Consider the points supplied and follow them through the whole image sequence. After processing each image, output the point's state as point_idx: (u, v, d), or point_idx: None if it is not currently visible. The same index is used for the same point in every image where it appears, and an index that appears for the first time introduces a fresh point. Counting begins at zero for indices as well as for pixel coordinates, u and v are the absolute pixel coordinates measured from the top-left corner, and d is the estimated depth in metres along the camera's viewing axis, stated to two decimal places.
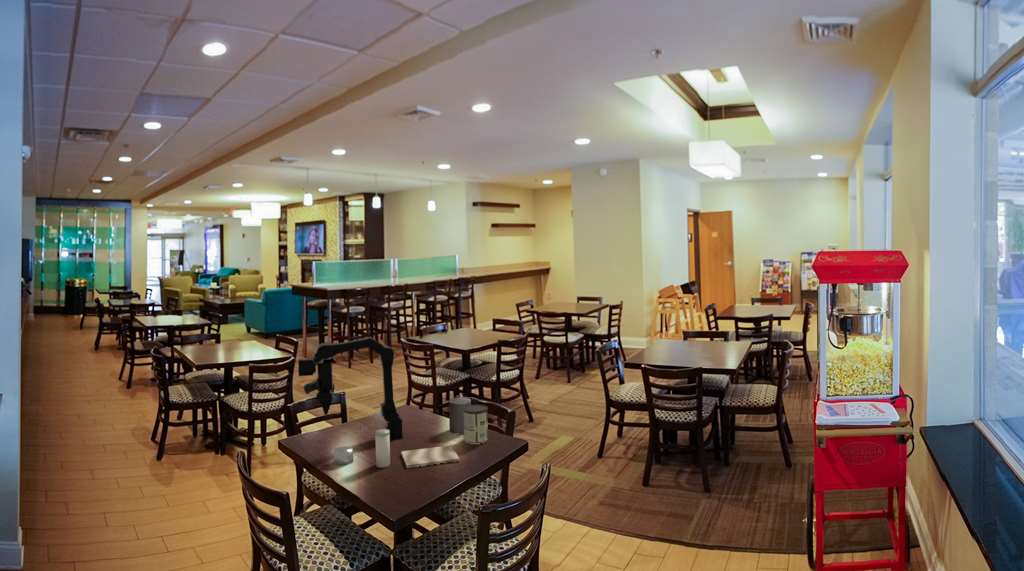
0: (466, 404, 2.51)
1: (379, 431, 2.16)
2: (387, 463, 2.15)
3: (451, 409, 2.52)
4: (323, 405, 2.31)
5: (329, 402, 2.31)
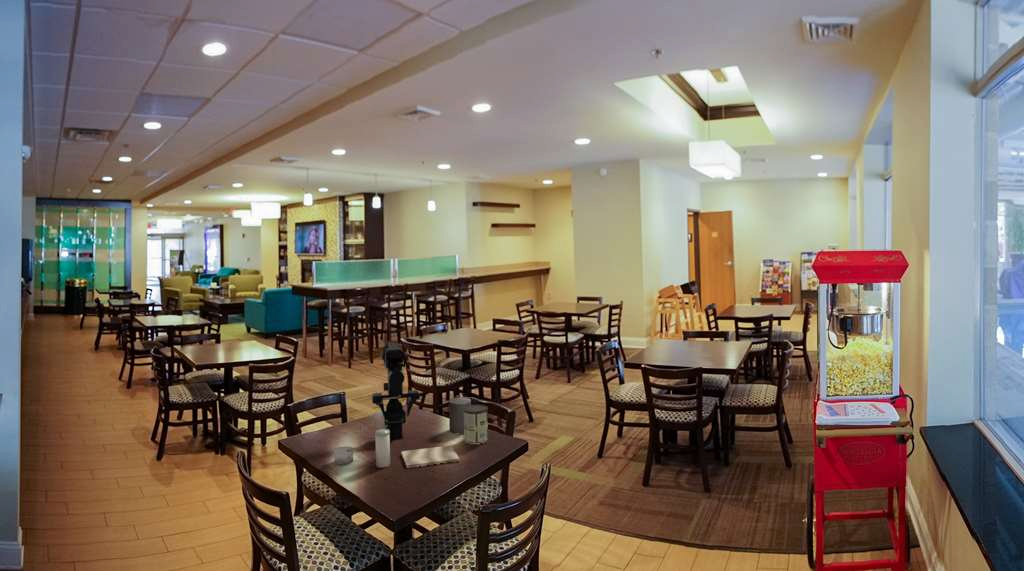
0: (466, 404, 2.51)
1: (379, 431, 2.16)
2: (387, 463, 2.15)
3: (451, 409, 2.52)
4: None
5: (380, 407, 2.29)
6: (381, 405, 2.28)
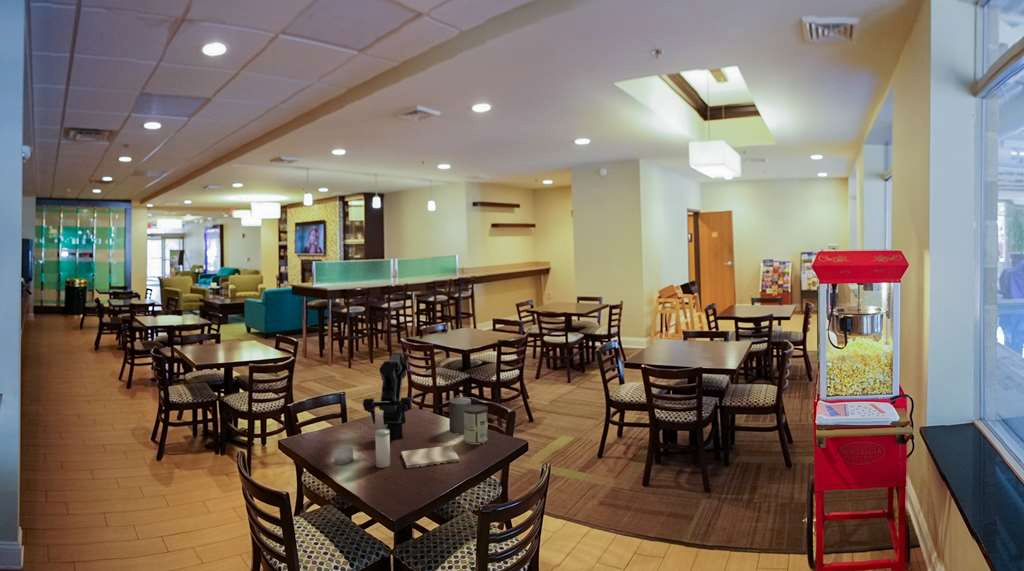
0: (466, 404, 2.51)
1: (379, 431, 2.16)
2: (387, 463, 2.15)
3: (451, 409, 2.52)
4: None
5: None
6: (371, 406, 2.25)
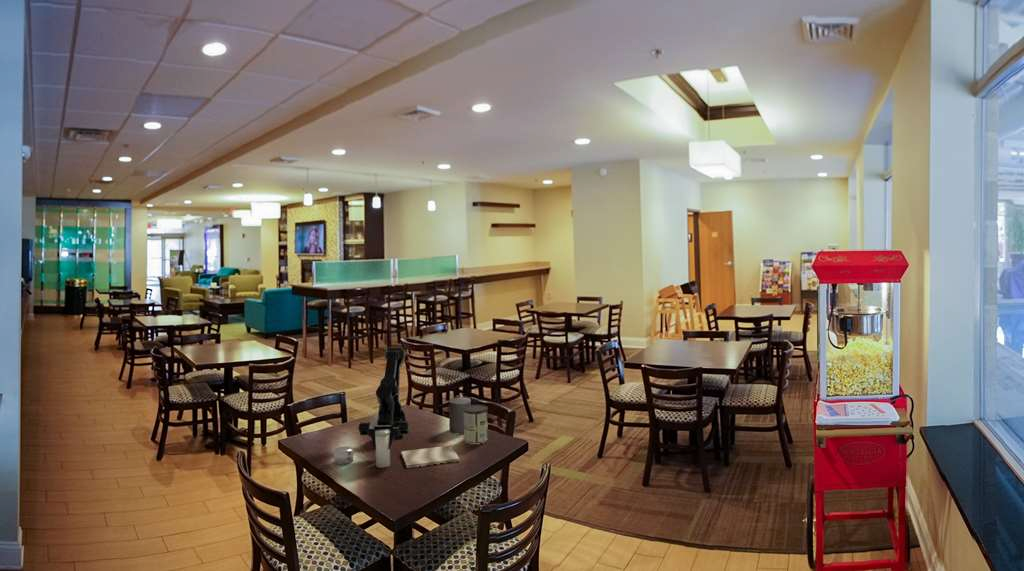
0: (466, 404, 2.51)
1: (379, 431, 2.16)
2: (387, 463, 2.15)
3: (451, 409, 2.52)
4: None
5: None
6: (371, 430, 2.17)
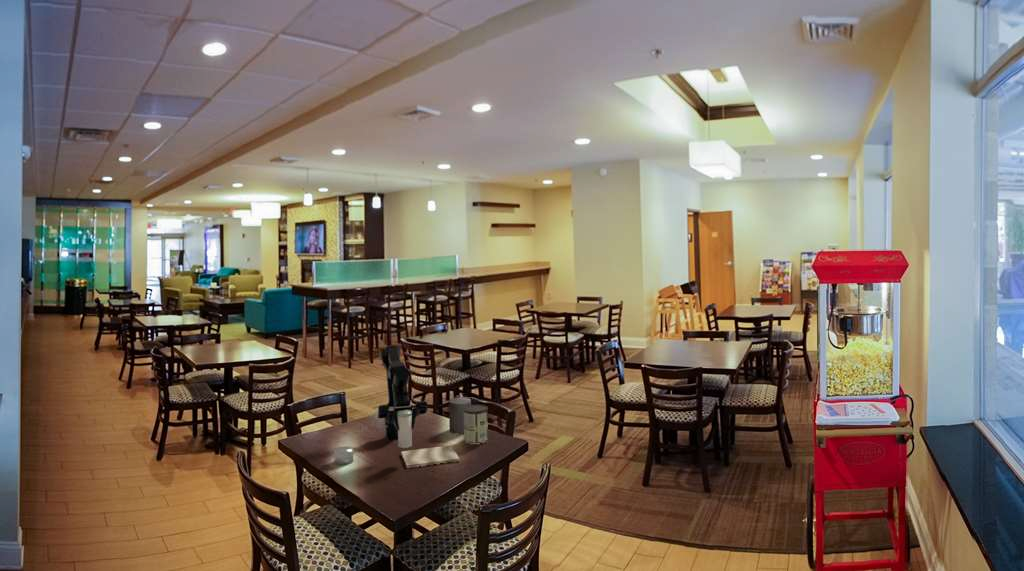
0: (466, 404, 2.51)
1: (401, 412, 2.17)
2: (410, 443, 2.17)
3: (451, 409, 2.52)
4: (393, 421, 2.18)
5: (392, 416, 2.17)
6: (393, 412, 2.17)
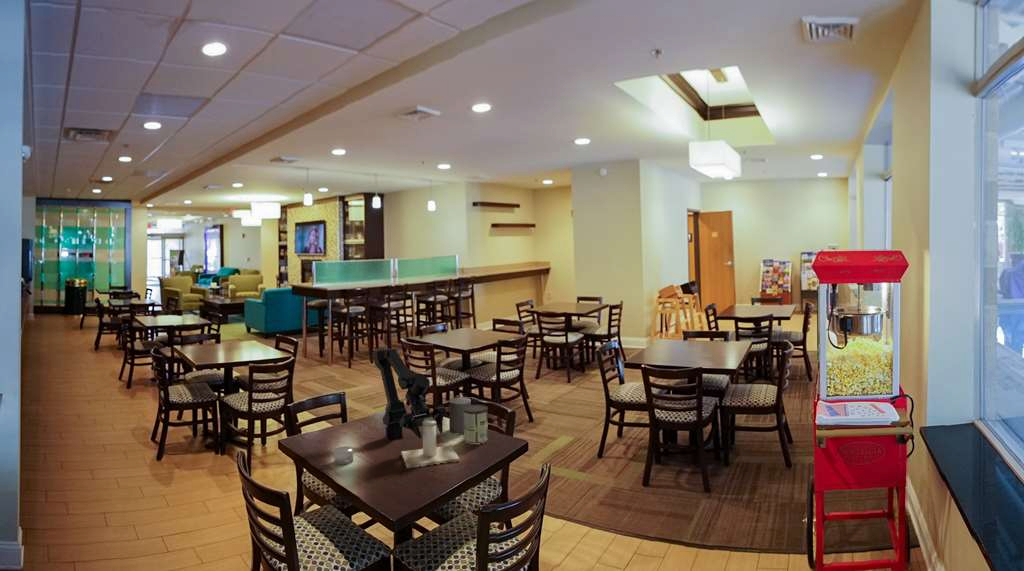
0: (466, 404, 2.51)
1: (427, 422, 2.22)
2: None
3: (451, 409, 2.52)
4: (413, 430, 2.20)
5: (413, 424, 2.19)
6: (414, 420, 2.19)
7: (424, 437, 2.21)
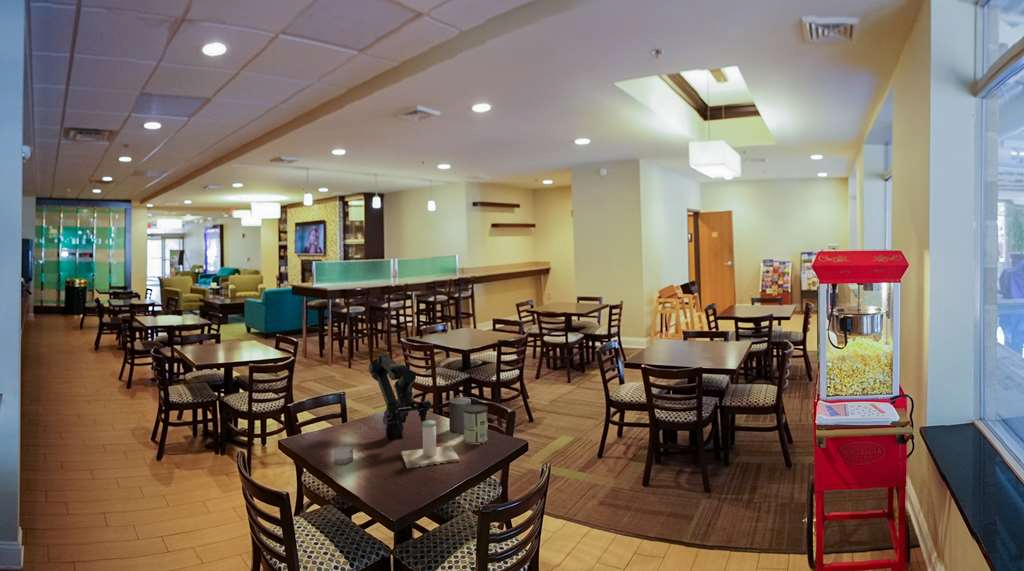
0: (466, 404, 2.51)
1: (426, 422, 2.22)
2: None
3: (451, 409, 2.52)
4: (396, 422, 2.28)
5: (396, 417, 2.26)
6: (397, 413, 2.26)
7: (424, 437, 2.21)
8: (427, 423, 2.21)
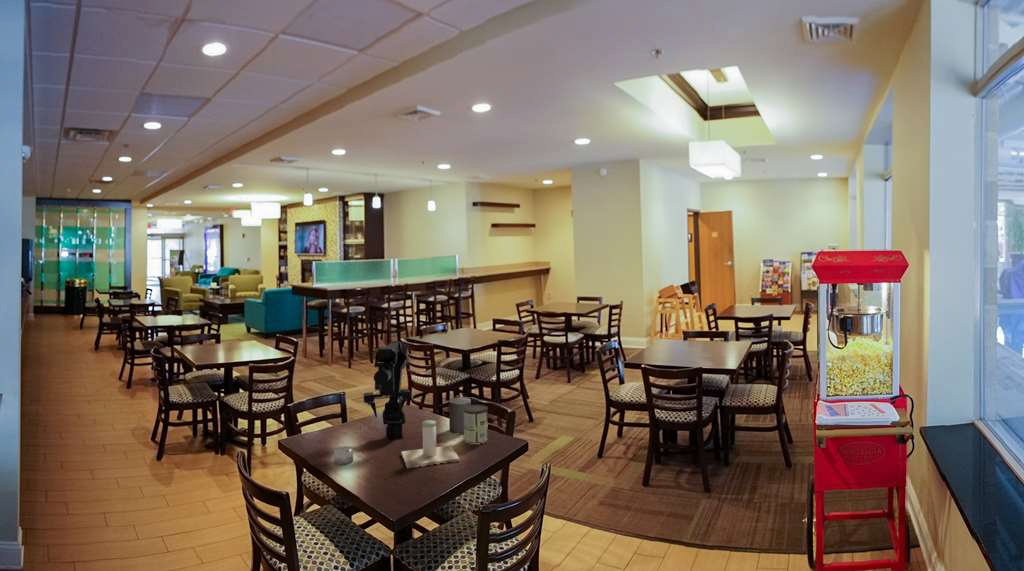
0: (466, 404, 2.51)
1: (426, 422, 2.22)
2: None
3: (451, 409, 2.52)
4: None
5: None
6: (372, 404, 2.29)
7: (424, 437, 2.21)
8: (427, 423, 2.21)
